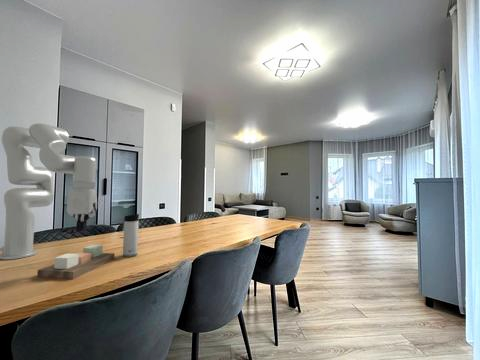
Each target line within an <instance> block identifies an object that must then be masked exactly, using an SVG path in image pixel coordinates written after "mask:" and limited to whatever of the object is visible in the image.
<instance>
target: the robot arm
mask: <svg viewBox="0 0 480 360" xmlns="http://www.w3.org/2000/svg"><path fill="white" fill-rule="evenodd" d="M2 131H3V132H2V134H1V144H2V147H3V149H4V152H5V155H6V166H7V167H6V168H7V169H6V170H7V179H8V182H9V184H11V185H15V186H36V187H14V188H10V189H8V190H6V192H5V193H3V194H4V195H3V202H4V208H5V224H4V225H5V228H4V242H3V243H4V244H3V246H2V247H0V252H1V254H0V260H17V259H22V258H27V257H31V256H35V255H36V254H38V250H37V249H35V248H34V236H35V235H34V234H35V215H34V213H33V211H31V210H30V209H31V208H41V207H43V208H45V207H48V206H50V205H52V203H53V202H54V194H55V193H54V182H53V181H54V179H53V174H52V173H55V174H57V173H59V174H68V175H69V174H70V175H73V176H72V178H73V179H72V183H71V184H70V185H71V187H72V188H71V189H69V193H68V197H67V202H66V212H67V213H68V215H69V216H71V217H73V218H74V221H75V222H76V229H75V231H76V232H84V231H86V230H87V225H88V224H87V223H88V221H89V219H90V218H93V217H94V218H95V216H96V212H97V211H98V210H97V209H98V197H97V190H96V177H97V175H96V174H97V159H96V158H95V157H92V156H86V155H85V156H82V155H78V156H74V155H67V154H62V153H63V152H64V151H65V150H66V149H67V144H68V143H69V140H70V136H69V133H68V131H66V129H64V128H61V127H57V126H54V125H50V124H46V123H33V124H32V125H31V124H30V126H29V128H28V127H23V126H9V127H8V126H7V127H6V128H5V129H4V130H2ZM25 147H30V148H36V149H39V152H38V157H39V161H40V163H42V165H43V166H44V167H43V166H34V164H33V157H32V155H31V153H30V152H29V151H28V150H27V149H26V148H25ZM67 213H66V214H67Z"/></svg>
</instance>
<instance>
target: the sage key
mask: <svg viewBox="0 0 480 360" xmlns="http://www.w3.org/2000/svg"><path fill="white" fill-rule="evenodd" d="M82 250H83V251H82V253H91V258H95V257H97V256H99V255H102V253H103V244H102V245H101V244H91V245H88V246H84V247H83V248H82Z"/></svg>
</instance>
